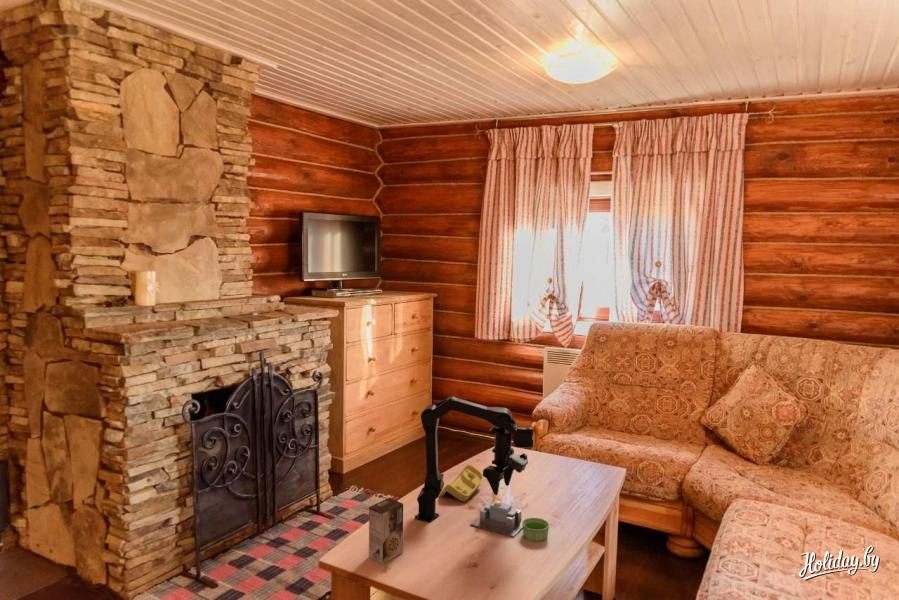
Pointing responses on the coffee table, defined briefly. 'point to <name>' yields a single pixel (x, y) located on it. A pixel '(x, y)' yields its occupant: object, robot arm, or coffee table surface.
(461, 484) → the plastic component
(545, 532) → the ramekin
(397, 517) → the coffee box
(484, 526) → the chassis
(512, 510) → the servo
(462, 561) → the coffee table surface
